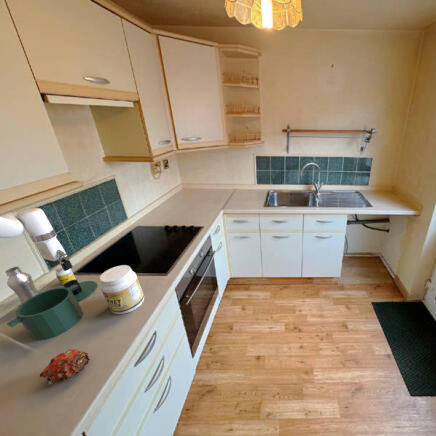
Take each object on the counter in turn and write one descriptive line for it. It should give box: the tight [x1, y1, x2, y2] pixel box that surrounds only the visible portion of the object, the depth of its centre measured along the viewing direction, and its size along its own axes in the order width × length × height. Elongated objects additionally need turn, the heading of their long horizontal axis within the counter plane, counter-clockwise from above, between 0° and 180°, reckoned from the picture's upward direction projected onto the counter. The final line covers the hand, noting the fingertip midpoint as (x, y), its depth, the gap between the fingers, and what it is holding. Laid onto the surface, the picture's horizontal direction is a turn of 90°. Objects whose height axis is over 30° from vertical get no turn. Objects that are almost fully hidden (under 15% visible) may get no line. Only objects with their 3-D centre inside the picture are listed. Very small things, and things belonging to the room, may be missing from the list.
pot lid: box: [63, 279, 99, 303], centre depth 103 cm, size 16×16×7 cm
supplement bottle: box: [54, 264, 77, 287], centre depth 109 cm, size 5×5×10 cm
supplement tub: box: [99, 264, 145, 315], centre depth 94 cm, size 12×12×17 cm
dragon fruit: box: [39, 349, 91, 386], centre depth 71 cm, size 8×8×12 cm
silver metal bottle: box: [4, 266, 41, 305], centre depth 93 cm, size 6×7×20 cm
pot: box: [6, 284, 84, 341], centre depth 87 cm, size 15×20×12 cm
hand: (62, 267), depth 107 cm, fingers open, 9 cm apart
